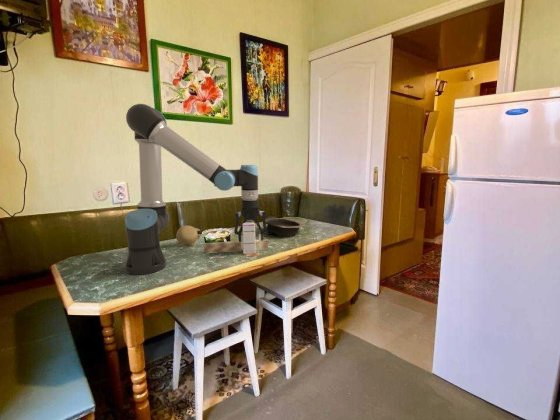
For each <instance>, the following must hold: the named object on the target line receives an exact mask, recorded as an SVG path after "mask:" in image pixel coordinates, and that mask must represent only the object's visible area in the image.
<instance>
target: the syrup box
mask: <svg viewBox="0 0 560 420" xmlns="http://www.w3.org/2000/svg"><path fill="white" fill-rule="evenodd" d="M242 222H243V220H242ZM242 222H241V223H242ZM241 234H243V251H242V253H243V254H244V255H247V254H257V251H256V246H255V240H256V222H255V220H247V221H246V223H243V231H242V233H241Z"/></svg>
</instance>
